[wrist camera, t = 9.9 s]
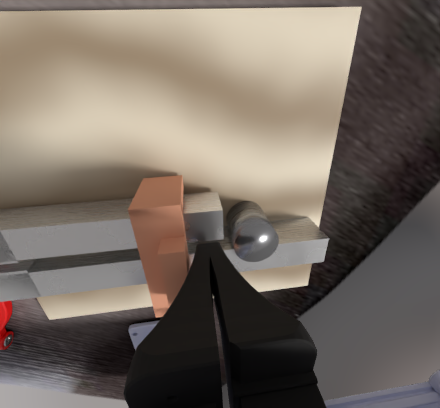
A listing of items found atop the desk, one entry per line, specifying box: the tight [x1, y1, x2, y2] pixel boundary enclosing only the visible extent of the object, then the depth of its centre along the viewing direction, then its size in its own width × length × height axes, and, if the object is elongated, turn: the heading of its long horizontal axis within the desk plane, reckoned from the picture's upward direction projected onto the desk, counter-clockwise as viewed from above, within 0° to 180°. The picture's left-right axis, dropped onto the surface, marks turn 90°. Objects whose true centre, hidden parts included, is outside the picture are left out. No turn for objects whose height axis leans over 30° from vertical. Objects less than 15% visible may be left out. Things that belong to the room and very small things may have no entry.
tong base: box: [0, 201, 329, 302], centre depth 15 cm, size 4×21×3 cm, turn 92°
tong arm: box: [0, 191, 224, 265], centre depth 14 cm, size 2×14×3 cm, turn 92°
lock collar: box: [128, 175, 190, 318], centre depth 13 cm, size 8×2×5 cm, turn 2°
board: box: [0, 7, 361, 320], centre depth 16 cm, size 20×22×1 cm
